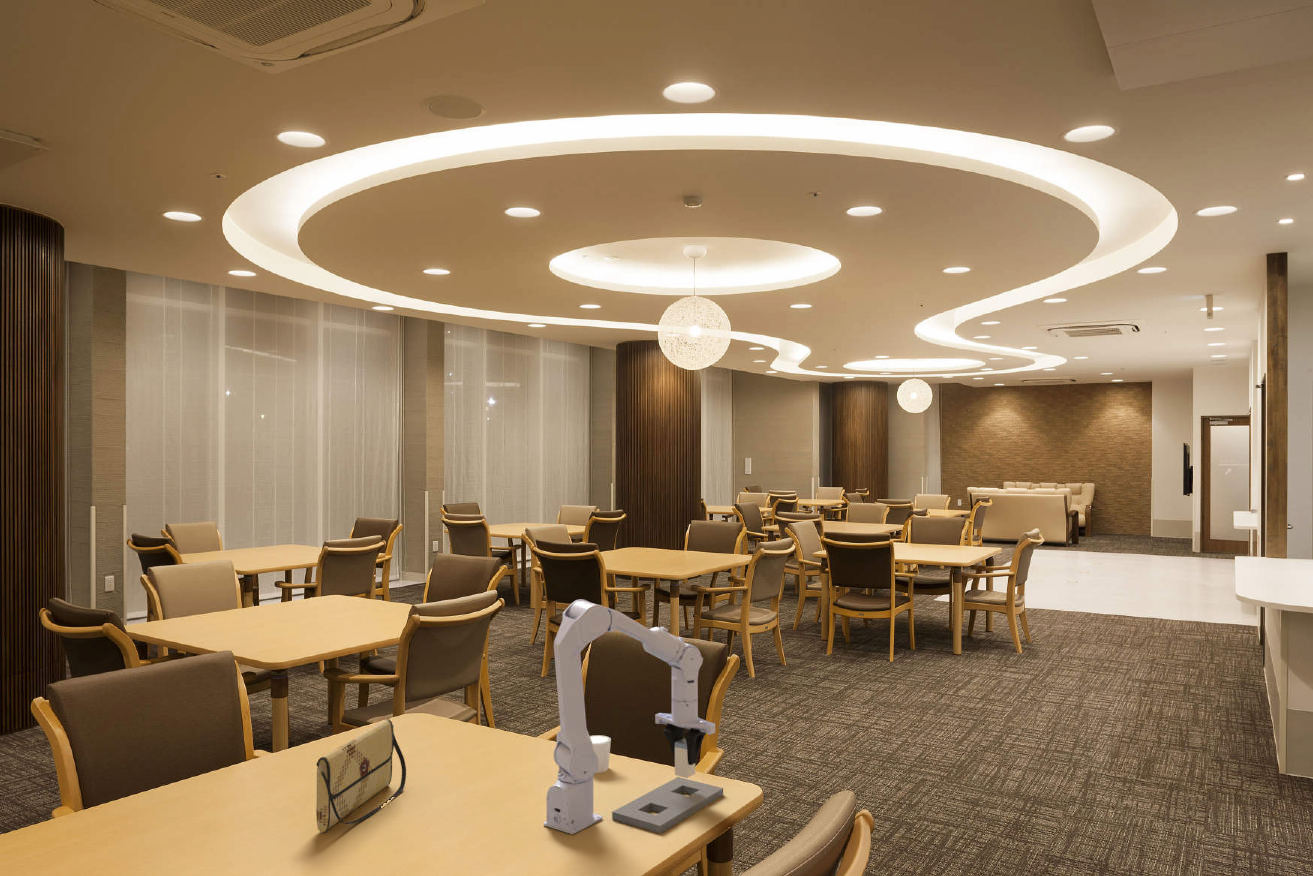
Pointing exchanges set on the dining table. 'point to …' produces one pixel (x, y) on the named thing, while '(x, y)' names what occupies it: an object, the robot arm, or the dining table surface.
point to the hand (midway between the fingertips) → (685, 761)
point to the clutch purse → (356, 774)
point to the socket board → (667, 804)
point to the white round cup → (601, 751)
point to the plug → (682, 760)
